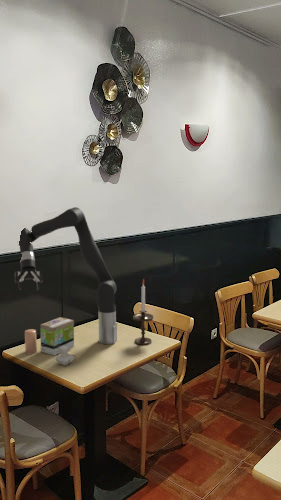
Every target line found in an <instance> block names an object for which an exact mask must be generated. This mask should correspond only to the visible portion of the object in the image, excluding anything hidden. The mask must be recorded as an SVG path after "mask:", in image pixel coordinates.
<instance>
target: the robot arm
mask: <svg viewBox="0 0 281 500" xmlns="http://www.w3.org/2000/svg"><path fill="white" fill-rule="evenodd" d="M71 227H74V229H75V231H76V233H77V236H78V244H79V245H78V246H79V251H80V254H81V256H82V258H83V260H84V262H85V264H86V265H87V267H88V268H89V269H90V270H91V271H92V272H93V273H94V275H95V276H96V280H97V282H98V284H99V285H98V286H97V288H96V303H97V304H96V305H97V308H98V309H97V310H98V342H99V343H100V344H103V345H110V344H111V345H112V344H115V343H116V342H117V341H118V323H117V316H116V315H117V309H116V308H117V305H116V304H115V294H116V293H117V287H118V286H117V284H116V282H115V280H114V278H113V277H112V275H111V274H110V271H109V270H108V267H107V265H106V263H105V261H104V259H103V256H102V254H101V250H100V249H99V247H98V245H97V244H96V241H95V239H94V237H93V235H92V233H91V230H90V228H89V225H88V221H87V219H86V215H85V213H84V212H83V210H82V209H81V208H79V207H71V208H69V209H66V210H64V211H63V212H62V213H61V214H59V215H58V216H55V217H53V218H50V219H47V220H44V221H40V222H39V223H36V224H34V225H32V226H31V230H30V229H29V230H30V231H29V230H28V228H27V227H25V228H24V229H23V230H22V231H21V235H20V241H19V244H18V246H20V247H19V252H20V253H21V254H22V257H21V260H20V261H19V262H20V271H18V270H15V271H14V283H15V284H18V289H19V290H20V291H23V282H24V280H25V281H28V280H29V281H30V280H33V281H34V282H36V290H37V291H39V290H40V288H41V283H43V281H44V276H43V275H44V274H43V270H39V271H37V269H36V258H35V257H36V256H35V253H34V251H35V249H34V246H33V244H32V243H33V242H34V243H35V241H36V240H38V239H39V238H40V237H43V236H46V235H49V234H50V233H53V232H55V231H57V230H60V229H64V228H65V229H66V228H71ZM26 228H27V229H26ZM31 231H32V232H31ZM30 242H31V243H30ZM20 253H19V254H20ZM19 276H21V277H20V278H19ZM38 276H39V277H38ZM18 278H19V279H18Z"/></svg>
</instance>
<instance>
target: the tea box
mask: <svg viewBox="0 0 281 500" xmlns="http://www.w3.org/2000/svg"><path fill="white" fill-rule="evenodd" d="M64 345H65V346H69V347H70V348H71V349H72V348H74V347H75V321H74V319H69V318H66V317H61V316H60V317H56V318H54V319H52V320H49V321H46V322H44V323H40V352H42V353H44V354H47V355H51V356H55V357H56V355H58V354H60V353H61V352H60V351H59V350H58V348H59V347H61V346H64Z"/></svg>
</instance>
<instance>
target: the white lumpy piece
mask: <svg viewBox="0 0 281 500" xmlns="http://www.w3.org/2000/svg"><path fill="white" fill-rule="evenodd" d="M71 349H72V348H70V347H69V346H65V345H64V346H61V347H59V348H58V350H59V351H60V353H61V354H59V355H57V356H56V355H55V359H54V360H55V361H56V362H57V363H58V364H60V365H62V366H68V365H69V364H71V363H73V362H74V360H75V355H72V354H69V353H70V351H71ZM68 352H69V353H68Z"/></svg>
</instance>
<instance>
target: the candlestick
mask: <svg viewBox="0 0 281 500" xmlns="http://www.w3.org/2000/svg"><path fill="white" fill-rule="evenodd" d="M140 297H141V300H140V301H141V307H140V308H141V310H139V312H138V313H135V314H133V316H132V319H133V320H134V321H137V322H141V327H140V331H141V332H140V334H141V337H138V338H135V339H134V343H135V344H136V345H139V346H148V345H151V344H152V342H153V341H152V339H151V338H149V337H145V334H146V327H145V322H149V321H150V322H151V321H153V320H154V315H153V314H151V313H149V312H148V313H147V310H146V286H145V278H143V279H142V286H141V296H140Z"/></svg>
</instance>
